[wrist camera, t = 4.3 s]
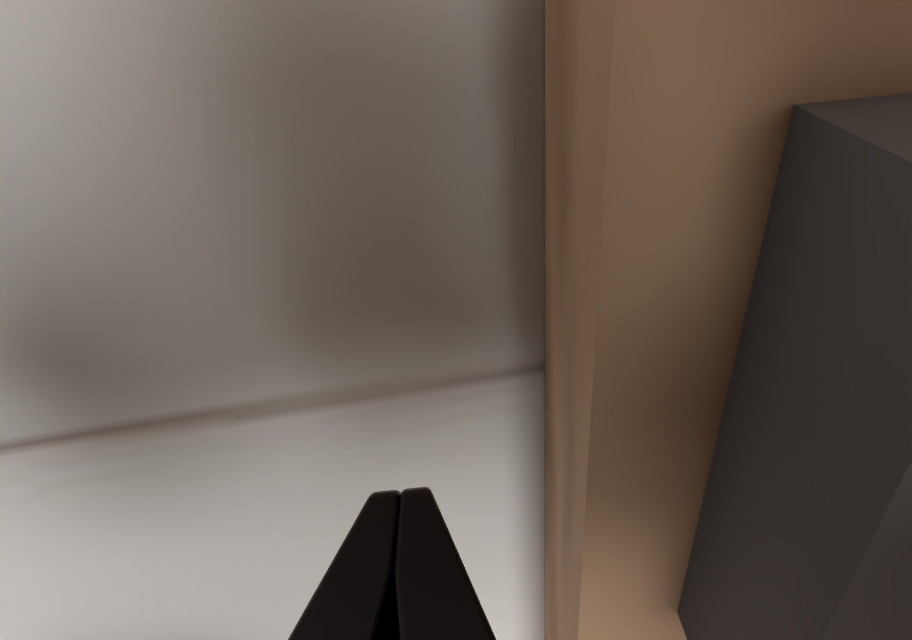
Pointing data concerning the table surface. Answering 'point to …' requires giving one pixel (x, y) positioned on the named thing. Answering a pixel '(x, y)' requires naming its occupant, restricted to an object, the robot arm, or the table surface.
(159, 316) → the table surface
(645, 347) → the wooden box
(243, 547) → the table surface
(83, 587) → the table surface
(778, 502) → the dark grey angular bar
